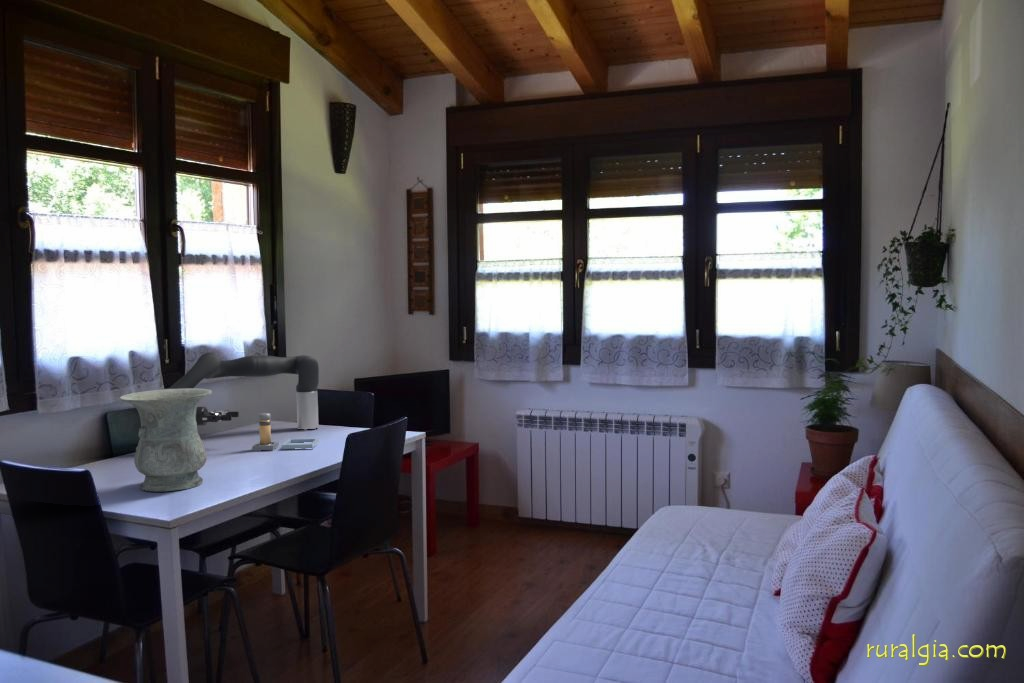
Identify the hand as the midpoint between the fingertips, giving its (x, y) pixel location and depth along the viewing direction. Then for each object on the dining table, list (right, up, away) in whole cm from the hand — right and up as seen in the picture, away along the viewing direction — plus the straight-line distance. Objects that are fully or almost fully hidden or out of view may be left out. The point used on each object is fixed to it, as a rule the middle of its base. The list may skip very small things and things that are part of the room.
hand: (235, 416), depth 299 cm
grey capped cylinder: (+12, -13, +2) cm, 18 cm away
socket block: (+12, -13, +2) cm, 18 cm away
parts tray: (+25, -13, +5) cm, 28 cm away
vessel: (-1, -17, -54) cm, 57 cm away
